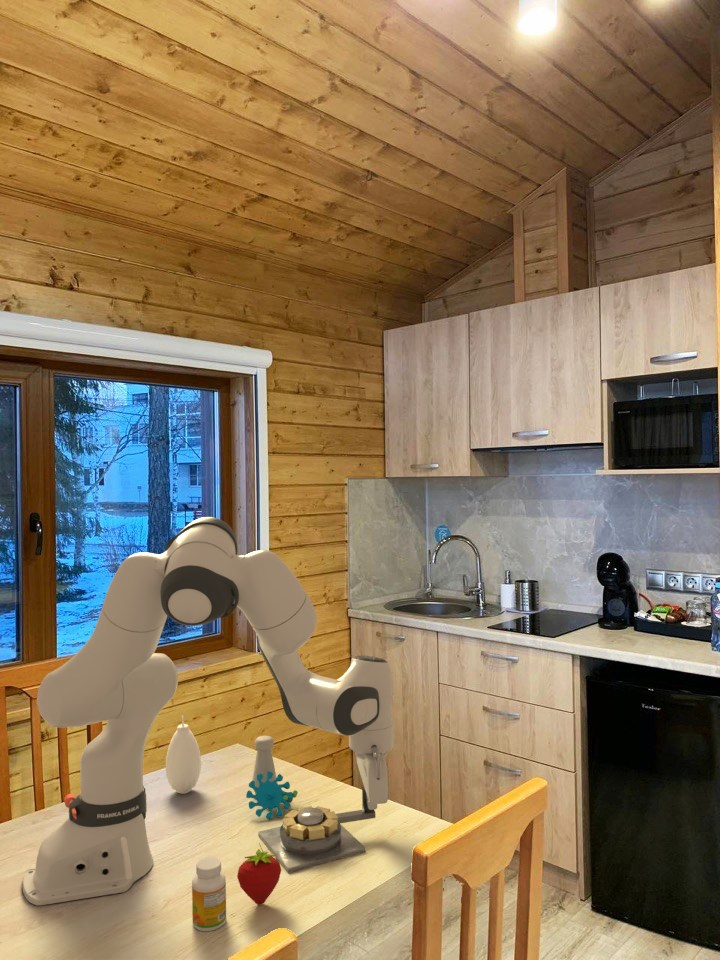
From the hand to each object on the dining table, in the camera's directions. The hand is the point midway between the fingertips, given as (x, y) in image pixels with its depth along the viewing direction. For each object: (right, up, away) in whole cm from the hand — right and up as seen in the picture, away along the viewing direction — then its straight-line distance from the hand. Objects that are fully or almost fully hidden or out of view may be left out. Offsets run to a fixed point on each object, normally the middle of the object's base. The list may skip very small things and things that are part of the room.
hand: (372, 807), depth 149 cm
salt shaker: (-24, -7, +22) cm, 34 cm away
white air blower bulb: (-43, -7, +24) cm, 50 cm away
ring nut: (-8, -4, 0) cm, 9 cm away
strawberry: (-19, -7, -21) cm, 30 cm away
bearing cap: (-12, -7, -1) cm, 14 cm away
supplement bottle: (-27, -8, -26) cm, 38 cm away
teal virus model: (-21, -7, +13) cm, 26 cm away
